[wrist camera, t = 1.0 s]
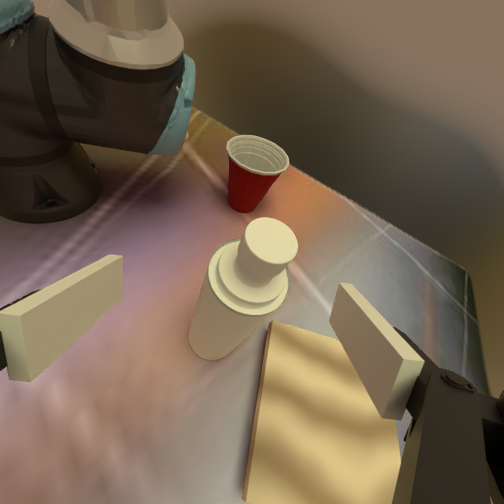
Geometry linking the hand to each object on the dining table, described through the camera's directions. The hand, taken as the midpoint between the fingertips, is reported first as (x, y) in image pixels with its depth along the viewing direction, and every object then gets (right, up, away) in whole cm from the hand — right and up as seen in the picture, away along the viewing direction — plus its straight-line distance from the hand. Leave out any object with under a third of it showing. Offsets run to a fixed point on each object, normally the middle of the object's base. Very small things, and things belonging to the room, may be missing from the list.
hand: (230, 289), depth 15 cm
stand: (+10, -19, +18) cm, 28 cm away
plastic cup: (-1, +12, +35) cm, 37 cm away
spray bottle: (-4, -9, +19) cm, 22 cm away
